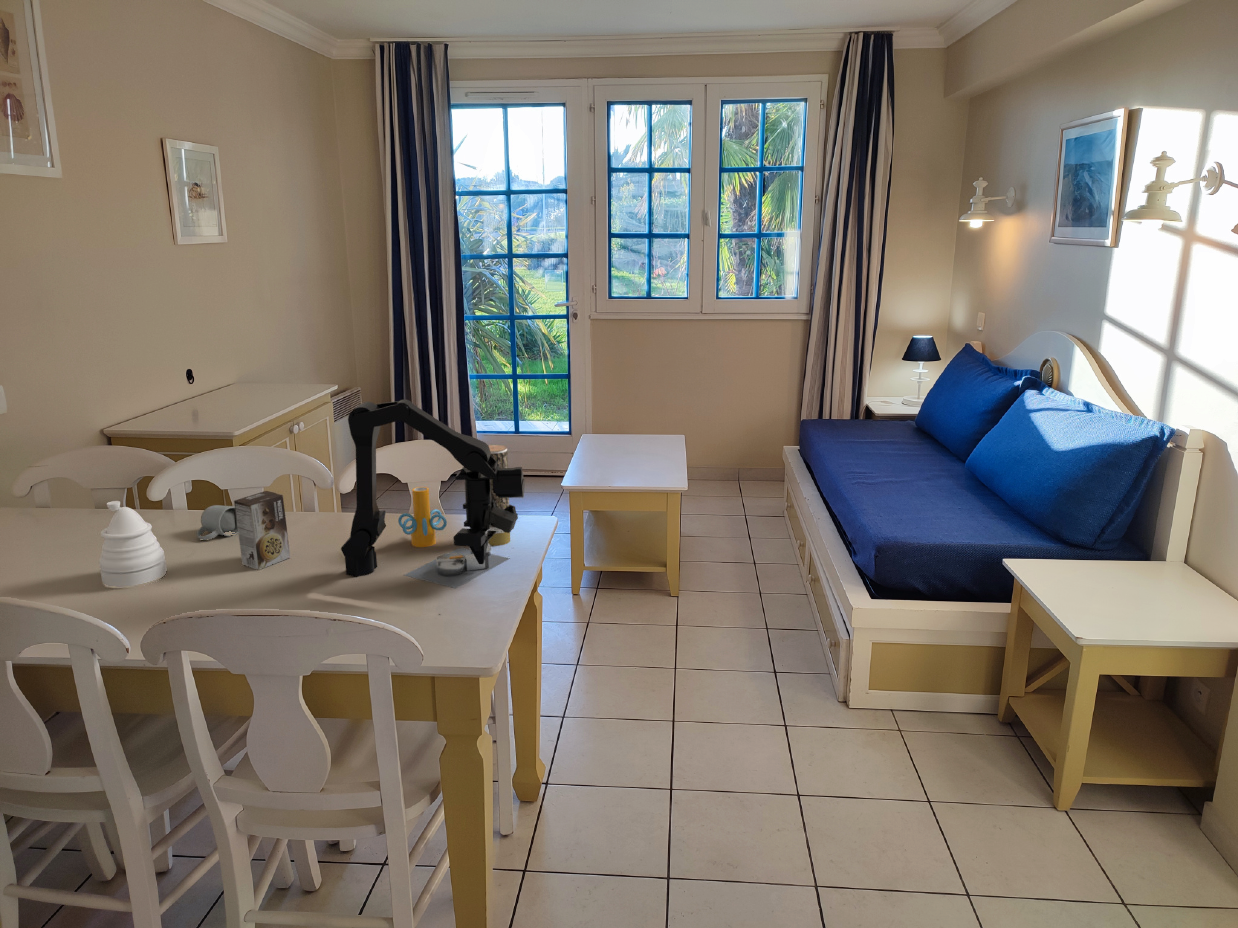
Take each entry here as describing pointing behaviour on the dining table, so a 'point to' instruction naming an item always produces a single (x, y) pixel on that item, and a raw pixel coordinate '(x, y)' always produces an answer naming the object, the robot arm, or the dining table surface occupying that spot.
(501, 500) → the bark covered log
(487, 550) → the duct stub
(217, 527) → the ceramic mug
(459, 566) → the dial knob with block
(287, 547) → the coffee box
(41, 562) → the dining table surface
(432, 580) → the mat
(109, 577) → the honey pot
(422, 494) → the cylinder
